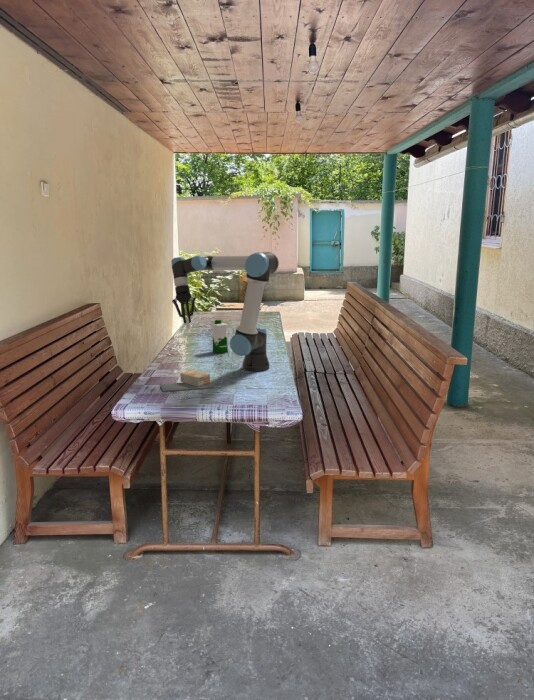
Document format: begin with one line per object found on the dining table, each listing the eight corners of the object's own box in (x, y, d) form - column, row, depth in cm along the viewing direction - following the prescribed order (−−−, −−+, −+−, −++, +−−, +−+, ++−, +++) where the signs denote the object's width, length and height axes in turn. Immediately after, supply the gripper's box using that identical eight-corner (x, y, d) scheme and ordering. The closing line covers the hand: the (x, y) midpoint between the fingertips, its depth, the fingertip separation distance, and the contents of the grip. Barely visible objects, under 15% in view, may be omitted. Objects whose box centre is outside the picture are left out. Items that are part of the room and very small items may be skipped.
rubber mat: (208, 381, 266) (208, 380, 266) (213, 388, 255) (213, 387, 255) (160, 385, 260) (160, 384, 259) (162, 392, 248) (162, 390, 248)
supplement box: (192, 369, 268) (210, 373, 260) (192, 378, 269) (210, 383, 261) (179, 372, 262) (198, 377, 254) (180, 381, 263) (198, 386, 255)
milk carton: (222, 350, 339) (222, 319, 335) (230, 352, 332) (229, 321, 327) (210, 351, 334) (210, 320, 329) (218, 354, 327) (217, 322, 322)
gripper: (192, 286, 291) (199, 328, 289) (169, 289, 287) (175, 331, 286) (194, 283, 284) (201, 326, 282) (170, 285, 280) (177, 329, 278)
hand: (188, 329), depth 284 cm, fingers closed
